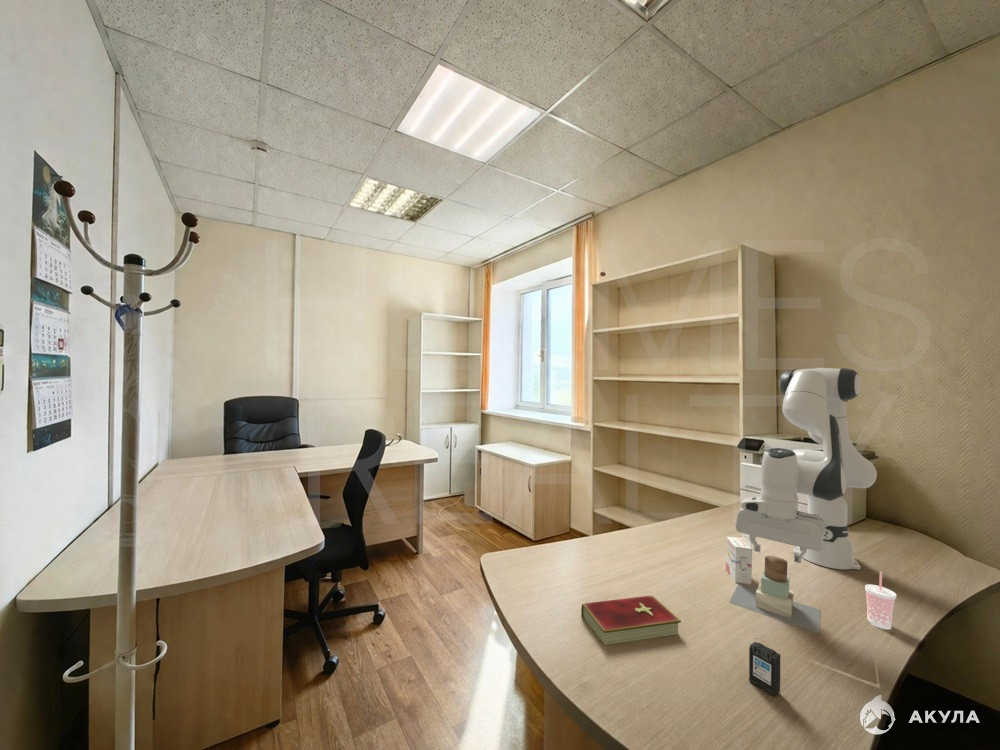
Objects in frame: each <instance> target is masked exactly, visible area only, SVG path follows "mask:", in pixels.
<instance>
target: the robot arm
mask: <svg viewBox="0 0 1000 750" xmlns="http://www.w3.org/2000/svg"><path fill="white" fill-rule="evenodd" d="M778 387H779V391H780V393H781V395H783V399H782V408H781V409H782V414H783V416H784V418H785V419H786V420H787V421H788V422H789V423H790V424H792V425H793V426H795V427H797V428H799V429H801V430H804V431H806V432H807V434H808V436H809V437H810V439H811V440H813V441H814V442H815V443H817V444H819V445H820V446H821V447H822V450H817V449H810V448H798V449H796V448H795V449H793V450H791V449H787V448H782V447H781V448H779V447H775V448H774V447H773V448H769V449H768V448H767V449H766V450H764V453H763V455H762V460H761V466H760V476H759V477H760V483H761V489H760V491H759V496H750V497H749V496H748V497H747V496H746V497H745V498H743V500H742V501H741V504H740V506H741V508H740V509H739V510H738V512H737V515H736V521H735V529H736V530H737V532H738V533H740V534H742V533H744V534H747V535H748V536H749V537H750V540H751V542H752V546H753V551H754V552H757V553H760V552H761V545H762V544H759V543H758V542H757V540H756V538H761V539H765V540H769V541H772V542H778V543H782V544H786V545H789V546H790V545H791V546H794V547H795V548H793V550H792V553H793V554H794V558H793V559H794V560H793V562H795V563H798V564H801V563H802V559H804V560H807V561H808V562H811V563H813V564H816V565H818V566H822V567H826V568H830V569H834V570H845V571H846V570H859V571H860V570H861V569H862V568H861V565H860V564H859V562H858V561H857V559H856V558H855V557H854V556H855V553H854V547H855V546H854V543H853V541H851V539H850V538H849V532H850V529H849V524H848V504H847V502H846V500H845V499H844V498H843V496H844V495H845V492H846V490H847V488H851V489H853V488H854V489H868V488H870V487H872V486H873V485H874V483H876V481H877V476H878V472H877V469H876V467H875V465H874V464H873V462H871V461H870V460H869V459H867V458H866V457H865V456H863V455H862V454H861V453H860V452H859V451H858V450H857V449H856V447H855V446H854V445H853V443H852V440H851V438H850V434H849V427H848V414H847V407H846V405H847V404H846V403H847V402H849V401H851V400H854V399H855V398H857V397H858V396H859V394H860V392H861V390H862V380H861V377H860V375H859V373H858V372H857V371H856V370H855V369H851V368H844V367H842V368H836V367H835V368H831V367H815V368H801V369H796V368H794V369H789V370H786V371H784V372H783V373H782V374H781V375H780V377H779V381H778ZM798 494H802V495H806V500H807V512H803V511H800V510H799V497H798Z"/></svg>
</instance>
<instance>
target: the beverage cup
mask: <svg viewBox="0 0 1000 750" xmlns="http://www.w3.org/2000/svg"><path fill="white" fill-rule="evenodd" d="M878 584H879V585H876V584H865V585H864V590H865V592H866V594H865V595H866V611H867V612H866V613H867V617H866V618H867V620H868V621H869V624H871V625H872V626H873V627H876V628H880V629H881V630H891V629H892V624H893V616H894V609H895V607H894V605H895V601H896V599H897V593H895V592H894V591H893V590H891V589H889V588H887V587H885V586H883V585H882V584H883V571H881V570H880V571H879V583H878Z"/></svg>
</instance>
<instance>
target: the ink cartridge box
mask: <svg viewBox="0 0 1000 750" xmlns="http://www.w3.org/2000/svg"><path fill="white" fill-rule="evenodd" d="M725 557H726V560H725V570H726V572H727V574H728V575H729V576H730V577H731V579H732V580H733V582H734V583H738V584H746V585H752V571H753V569H752V567H753V544H752V542H751V540H750V535H748V534H744V533H741V537H735V536H726V556H725Z"/></svg>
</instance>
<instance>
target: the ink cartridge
mask: <svg viewBox="0 0 1000 750" xmlns="http://www.w3.org/2000/svg"><path fill="white" fill-rule="evenodd" d="M748 651H749V653H748V655H749V659H748V661H749V662H748V663H749V664H748V668H749V670H748V673H749V674H748V675H749V676H748V680H749V683H750V684H752V685H754V686H756V687H757V688H759V689H760V690H762V691H763V692H766V693H767V695H768V694H769V695H770V696H772V697H775V696H776V695H777V694H779V693H780V692H781V654H779V653H778V652H777V651H775V650H774V649H772V648H770V647H769V646H768V647H767V646H766V645H764V644H763V643H761V642H759V641H758V642H757V641H754V642H752V643H751V644H749V647H748Z"/></svg>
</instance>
